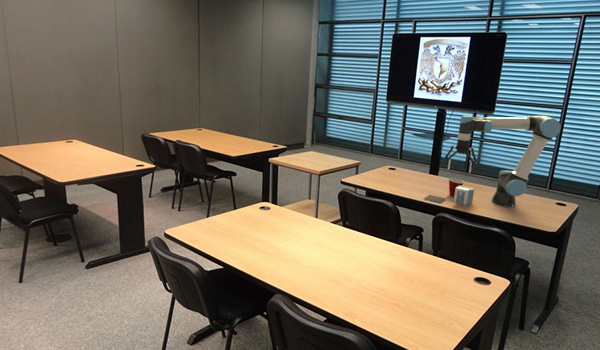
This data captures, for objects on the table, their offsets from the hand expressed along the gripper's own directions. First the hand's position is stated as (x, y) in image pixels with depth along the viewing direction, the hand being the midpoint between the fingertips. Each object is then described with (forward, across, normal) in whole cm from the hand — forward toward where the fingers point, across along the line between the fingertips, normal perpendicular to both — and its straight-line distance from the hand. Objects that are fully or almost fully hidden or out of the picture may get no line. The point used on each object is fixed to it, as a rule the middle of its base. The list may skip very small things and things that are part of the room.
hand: (459, 170), depth 288 cm
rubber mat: (+23, +13, -2) cm, 27 cm away
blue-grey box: (+23, -5, -1) cm, 24 cm away
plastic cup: (+24, +3, -20) cm, 31 cm away
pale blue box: (+21, -4, +4) cm, 22 cm away
